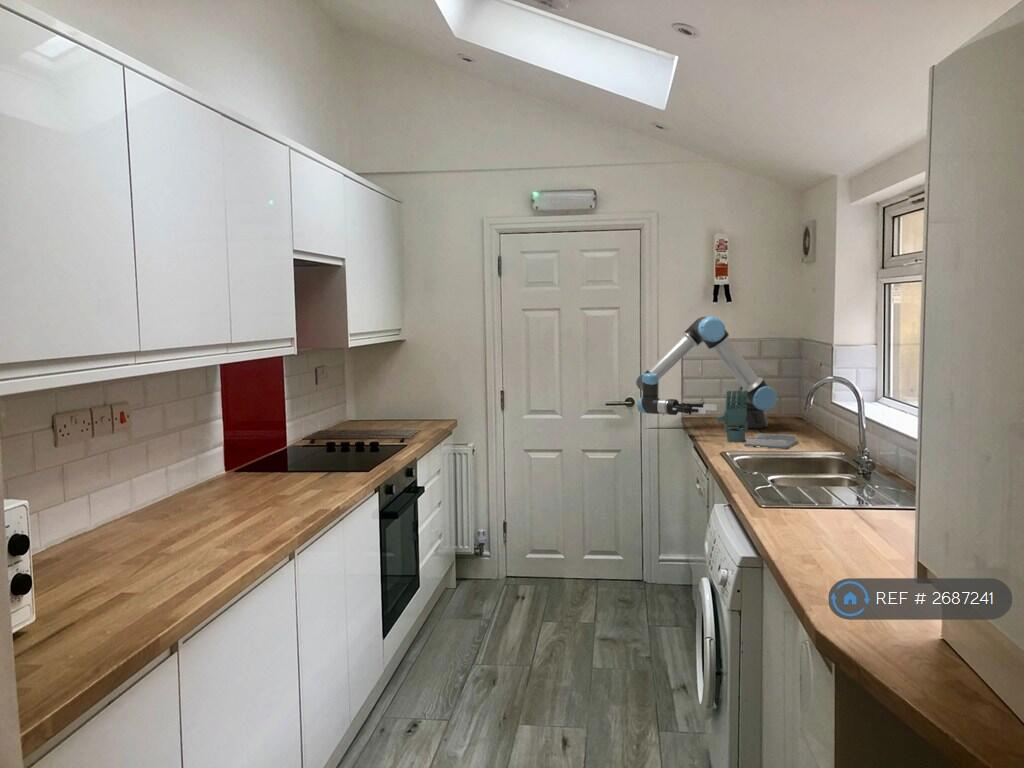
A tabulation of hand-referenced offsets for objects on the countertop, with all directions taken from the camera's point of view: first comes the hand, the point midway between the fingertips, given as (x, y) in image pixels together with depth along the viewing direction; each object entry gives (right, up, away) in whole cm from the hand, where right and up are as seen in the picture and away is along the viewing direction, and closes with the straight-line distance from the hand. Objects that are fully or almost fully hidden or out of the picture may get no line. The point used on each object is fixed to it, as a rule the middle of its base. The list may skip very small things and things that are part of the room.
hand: (711, 409), depth 373 cm
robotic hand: (+9, -14, -4) cm, 17 cm away
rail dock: (+22, -15, -19) cm, 32 cm away
